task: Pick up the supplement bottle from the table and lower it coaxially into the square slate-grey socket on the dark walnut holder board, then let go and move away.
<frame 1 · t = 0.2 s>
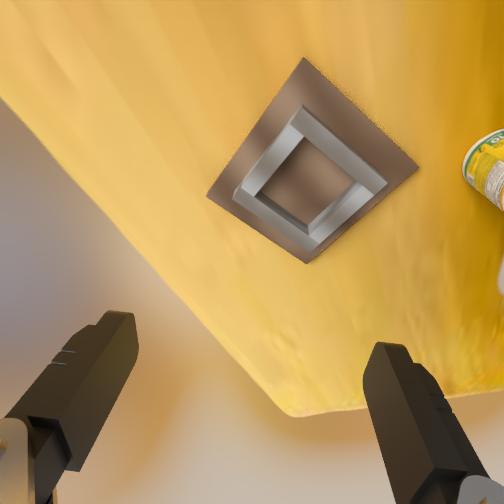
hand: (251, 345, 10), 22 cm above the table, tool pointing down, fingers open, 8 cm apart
socket holder: (304, 178, 30), on the table
supplement bottle: (492, 157, 27), on the table
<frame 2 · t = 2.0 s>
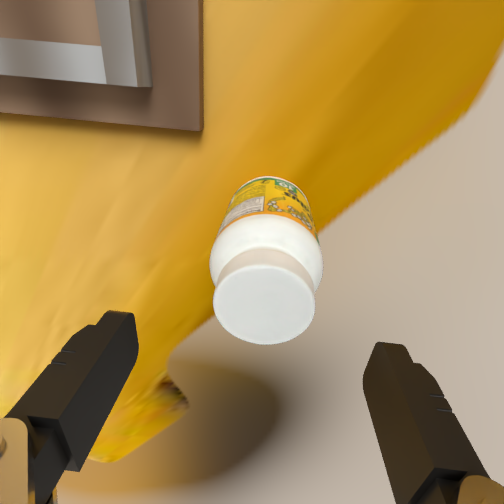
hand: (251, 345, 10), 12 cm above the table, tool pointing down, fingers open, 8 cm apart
supplement bottle: (269, 213, 20), on the table
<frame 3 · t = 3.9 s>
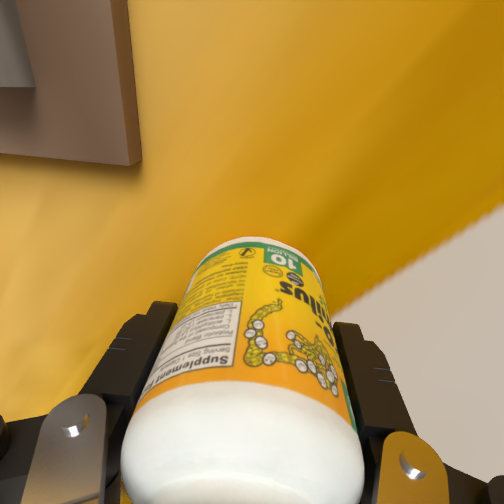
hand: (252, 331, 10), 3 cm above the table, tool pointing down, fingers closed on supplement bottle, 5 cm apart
supplement bottle: (257, 286, 13), on the table, touching gripper
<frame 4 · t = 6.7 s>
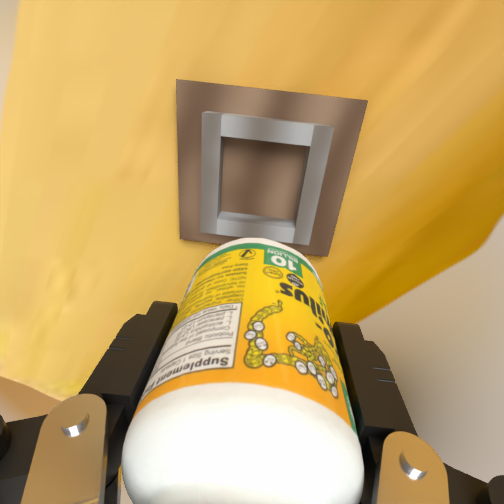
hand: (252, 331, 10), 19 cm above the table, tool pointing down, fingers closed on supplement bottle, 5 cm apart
socket holder: (261, 176, 27), on the table
supplement bottle: (257, 287, 13), point 17 cm above the table, touching gripper
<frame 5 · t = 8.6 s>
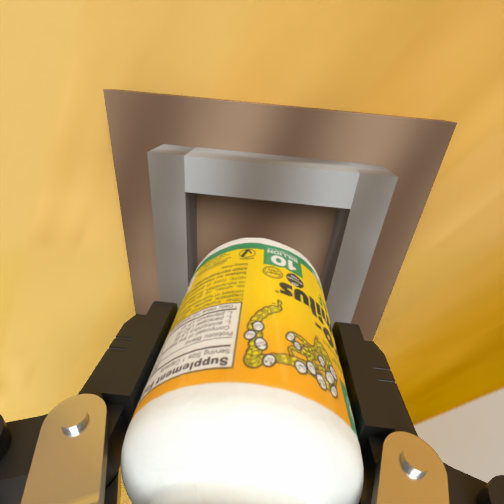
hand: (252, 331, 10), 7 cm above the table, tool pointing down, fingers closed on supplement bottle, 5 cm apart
socket holder: (262, 241, 17), on the table
supplement bottle: (257, 287, 13), point 4 cm above the table, touching gripper
when the fingers open (5 cm above the table, at t = 9.9 s): supplement bottle drops 1 cm, resting on socket holder.
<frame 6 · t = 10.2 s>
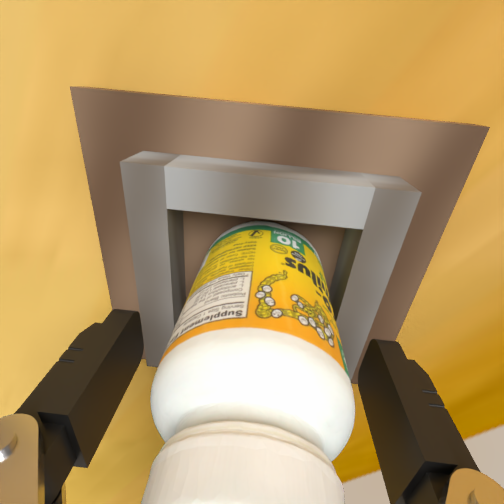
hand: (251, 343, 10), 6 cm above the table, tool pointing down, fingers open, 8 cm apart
socket holder: (259, 260, 15), on the table
supplement bottle: (263, 269, 14), point 1 cm above the table, touching socket holder
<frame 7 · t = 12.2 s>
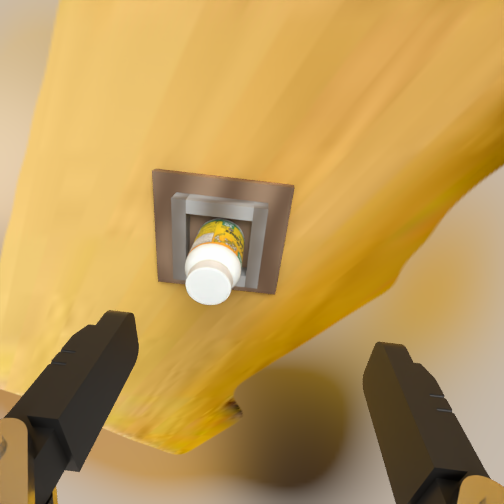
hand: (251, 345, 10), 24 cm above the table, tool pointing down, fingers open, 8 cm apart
socket holder: (220, 235, 35), on the table
supplement bottle: (222, 238, 34), point 1 cm above the table, touching socket holder
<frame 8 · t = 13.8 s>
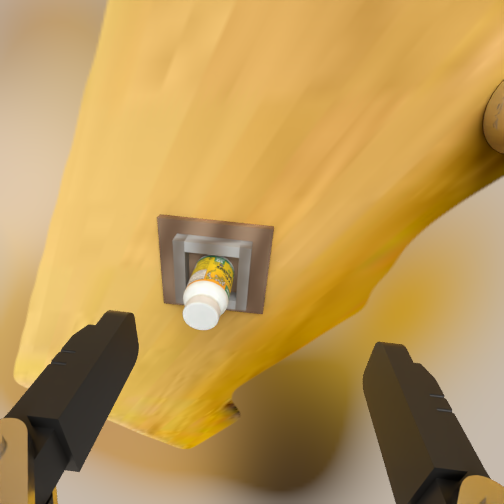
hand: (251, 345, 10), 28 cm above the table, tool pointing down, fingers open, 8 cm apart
socket holder: (215, 265, 42), on the table
supplement bottle: (215, 268, 41), point 1 cm above the table, touching socket holder
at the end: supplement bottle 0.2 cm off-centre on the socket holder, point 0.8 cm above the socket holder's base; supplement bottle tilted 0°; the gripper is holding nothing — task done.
